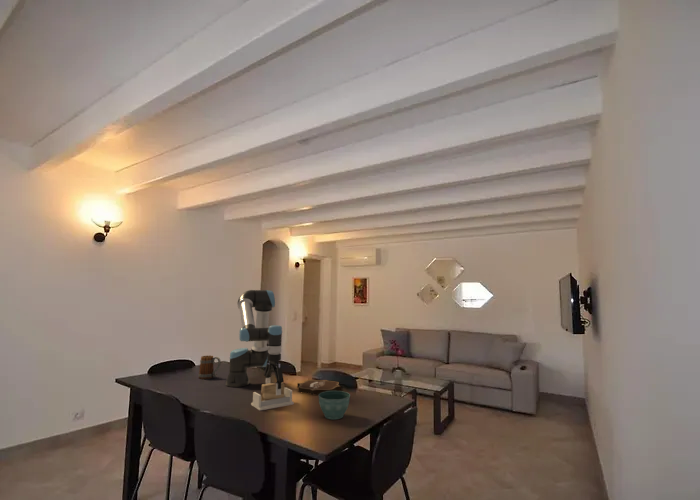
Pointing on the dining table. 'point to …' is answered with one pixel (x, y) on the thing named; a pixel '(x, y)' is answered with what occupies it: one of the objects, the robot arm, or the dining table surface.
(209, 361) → the mug
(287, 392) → the track
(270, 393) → the door panel
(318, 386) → the decorative plaque
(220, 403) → the dining table surface
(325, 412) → the flower pot
